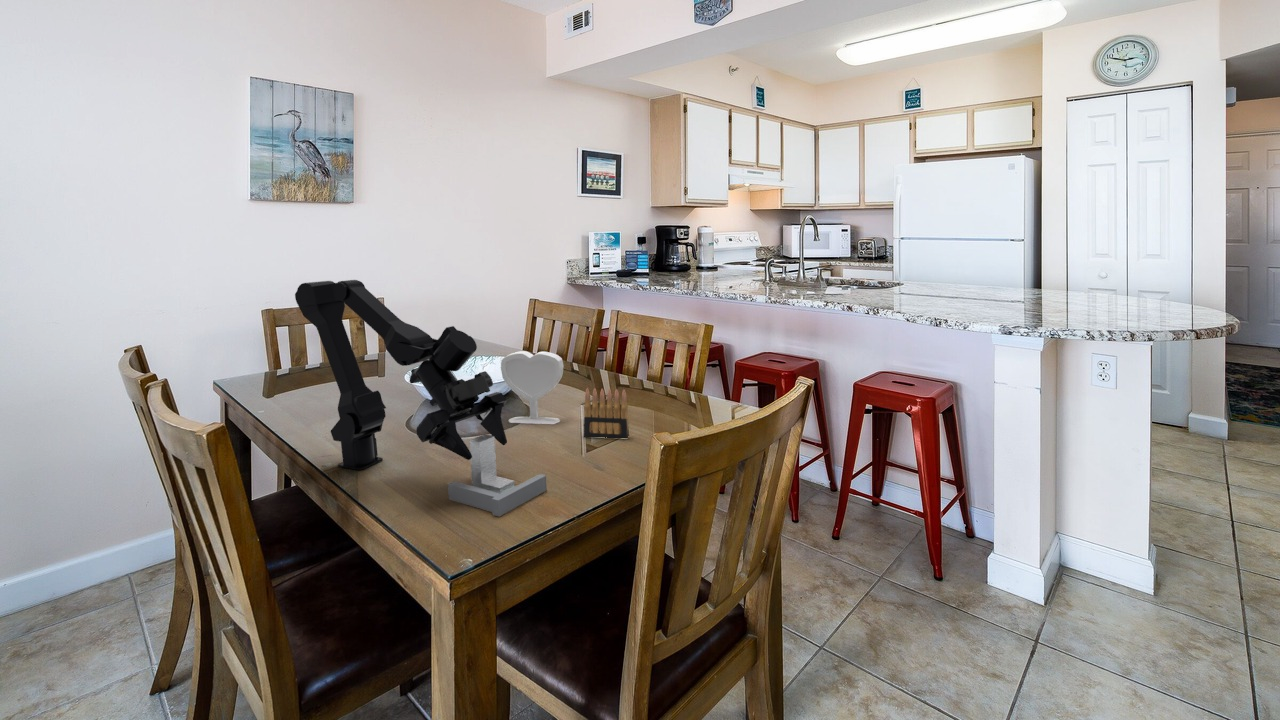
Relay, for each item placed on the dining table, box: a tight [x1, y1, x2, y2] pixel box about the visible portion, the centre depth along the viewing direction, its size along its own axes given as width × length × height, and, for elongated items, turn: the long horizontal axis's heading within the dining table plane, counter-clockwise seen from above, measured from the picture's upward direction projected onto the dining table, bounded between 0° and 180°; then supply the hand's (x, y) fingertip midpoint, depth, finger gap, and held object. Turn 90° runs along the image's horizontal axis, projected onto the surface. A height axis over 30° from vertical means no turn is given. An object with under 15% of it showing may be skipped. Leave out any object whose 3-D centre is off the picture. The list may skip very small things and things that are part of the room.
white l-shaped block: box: [469, 434, 516, 494], centre depth 118 cm, size 7×4×10 cm, turn 60°
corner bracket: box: [447, 473, 548, 517], centre depth 117 cm, size 13×13×3 cm
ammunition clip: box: [583, 387, 630, 439], centre depth 149 cm, size 11×2×12 cm, turn 81°
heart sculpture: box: [500, 350, 565, 425], centre depth 162 cm, size 16×5×18 cm, turn 83°
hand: (488, 451), depth 118 cm, fingers open, 9 cm apart
